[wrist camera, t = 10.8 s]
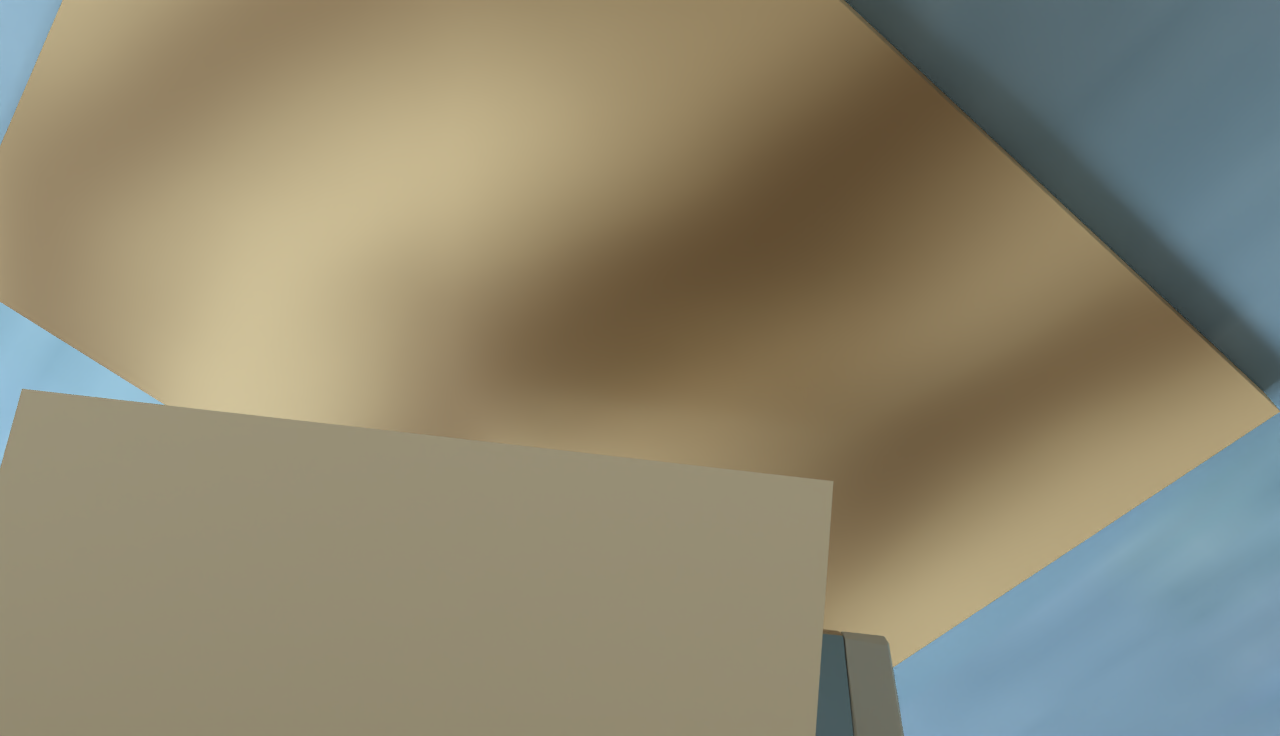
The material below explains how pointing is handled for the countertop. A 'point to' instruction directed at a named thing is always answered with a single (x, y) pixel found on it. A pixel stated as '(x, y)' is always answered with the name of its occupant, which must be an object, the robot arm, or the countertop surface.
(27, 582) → the card box
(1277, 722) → the countertop surface
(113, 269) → the mat
